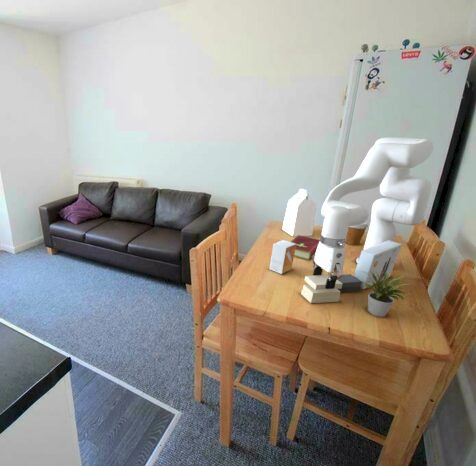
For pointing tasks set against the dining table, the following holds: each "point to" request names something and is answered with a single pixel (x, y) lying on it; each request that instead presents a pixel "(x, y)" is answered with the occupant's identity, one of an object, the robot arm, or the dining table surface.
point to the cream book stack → (320, 294)
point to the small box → (282, 256)
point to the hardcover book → (305, 246)
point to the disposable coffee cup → (355, 233)
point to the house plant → (382, 295)
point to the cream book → (320, 282)
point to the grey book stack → (349, 283)
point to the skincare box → (377, 262)
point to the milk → (300, 215)
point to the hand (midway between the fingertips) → (322, 282)
